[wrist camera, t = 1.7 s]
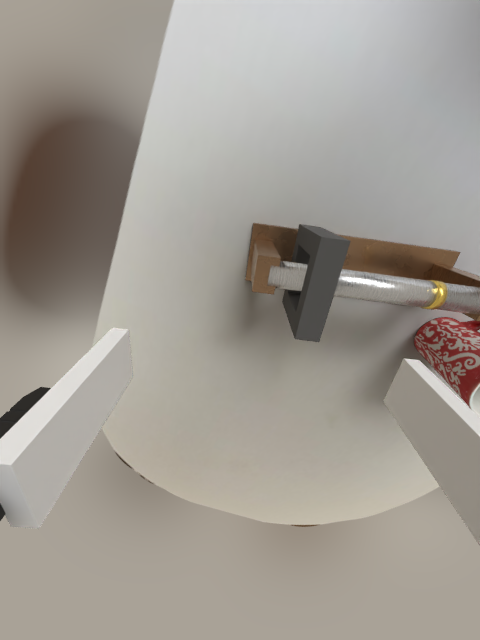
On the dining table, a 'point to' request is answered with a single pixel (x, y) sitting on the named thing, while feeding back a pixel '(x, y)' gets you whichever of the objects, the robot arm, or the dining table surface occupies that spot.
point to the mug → (454, 355)
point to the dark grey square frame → (314, 280)
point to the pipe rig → (369, 272)
